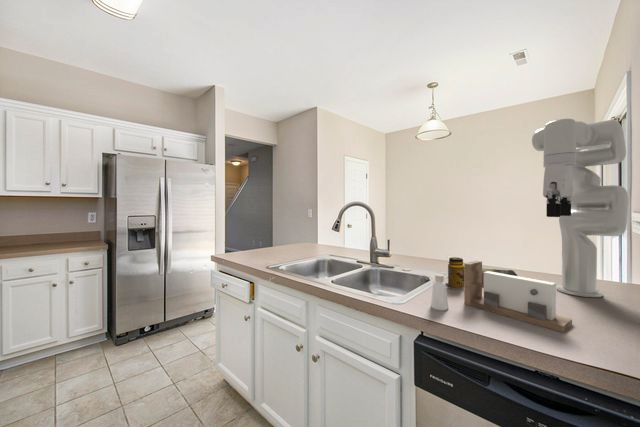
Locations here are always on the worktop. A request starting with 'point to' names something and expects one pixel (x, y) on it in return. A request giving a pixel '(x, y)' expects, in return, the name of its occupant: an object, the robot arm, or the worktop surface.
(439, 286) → the pepper shaker
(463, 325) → the worktop surface
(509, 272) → the juice carton
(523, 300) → the door panel
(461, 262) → the condiment
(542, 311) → the cabinet base
